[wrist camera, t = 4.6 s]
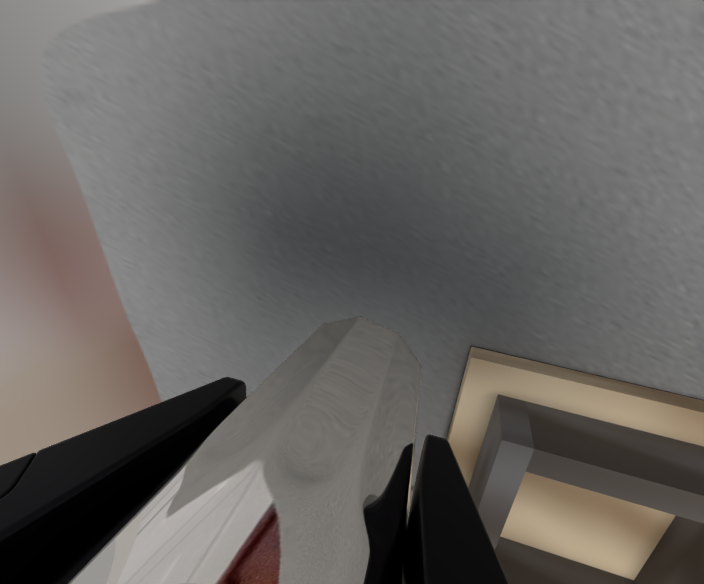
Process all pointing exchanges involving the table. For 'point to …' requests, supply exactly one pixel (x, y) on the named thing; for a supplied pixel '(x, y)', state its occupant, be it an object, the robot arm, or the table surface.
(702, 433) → the dock
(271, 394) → the milkshake
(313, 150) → the table surface
